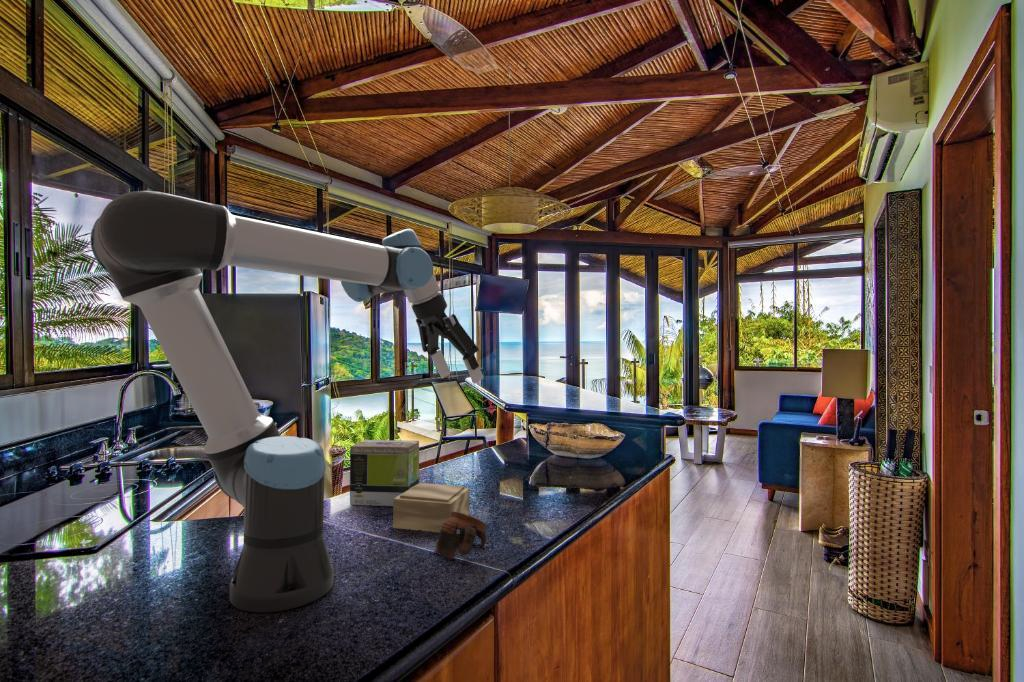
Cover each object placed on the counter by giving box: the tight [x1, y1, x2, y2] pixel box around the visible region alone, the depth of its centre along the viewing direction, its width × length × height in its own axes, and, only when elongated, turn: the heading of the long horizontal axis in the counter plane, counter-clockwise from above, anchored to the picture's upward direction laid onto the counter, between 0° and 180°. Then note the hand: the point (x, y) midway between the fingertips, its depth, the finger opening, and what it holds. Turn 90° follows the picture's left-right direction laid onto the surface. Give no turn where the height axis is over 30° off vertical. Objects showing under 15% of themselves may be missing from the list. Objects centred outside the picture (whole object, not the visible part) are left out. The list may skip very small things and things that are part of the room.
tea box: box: [349, 439, 420, 507], centre depth 131 cm, size 15×10×15 cm, turn 84°
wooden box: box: [392, 482, 471, 534], centre depth 117 cm, size 13×13×7 cm
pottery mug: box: [434, 512, 487, 560], centre depth 99 cm, size 12×9×8 cm
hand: (461, 378), depth 124 cm, fingers open, 13 cm apart
